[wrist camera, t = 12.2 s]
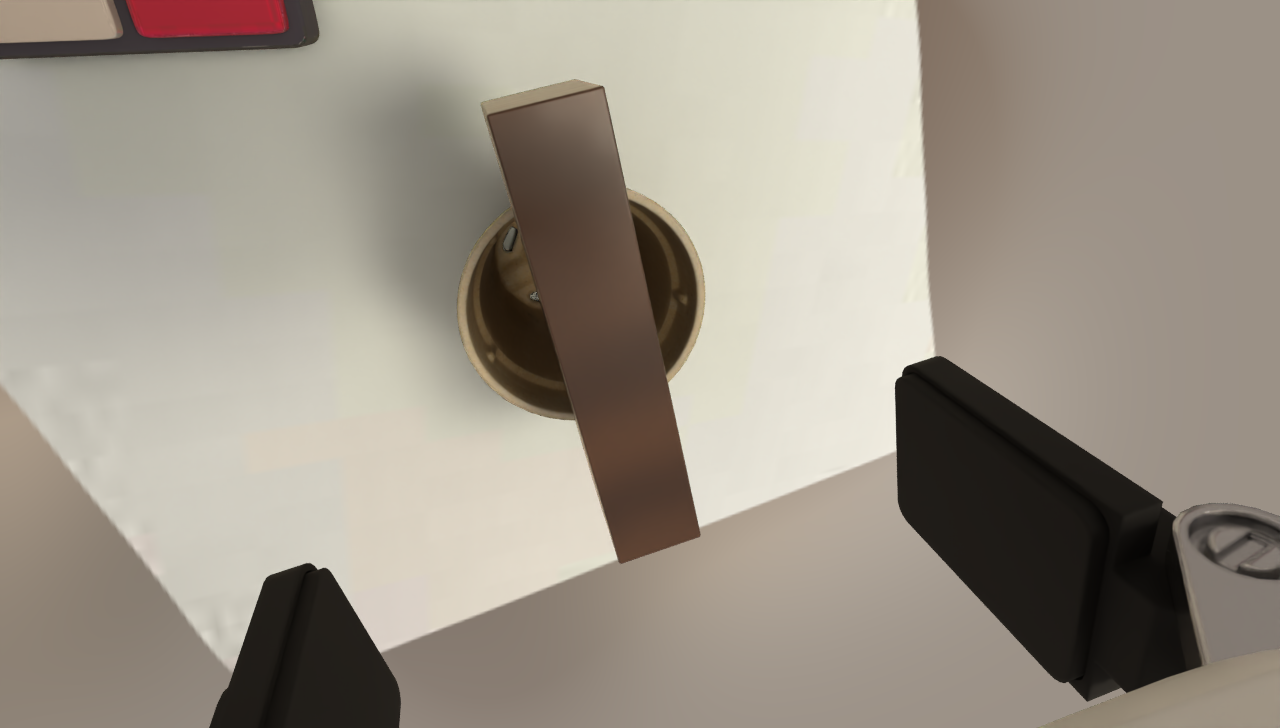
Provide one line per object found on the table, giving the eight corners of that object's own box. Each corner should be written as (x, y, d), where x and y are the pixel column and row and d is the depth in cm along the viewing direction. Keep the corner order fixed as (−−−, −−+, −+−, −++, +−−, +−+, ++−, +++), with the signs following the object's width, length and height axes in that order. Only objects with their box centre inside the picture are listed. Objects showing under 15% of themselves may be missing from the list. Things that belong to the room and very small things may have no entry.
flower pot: (439, 160, 30) (433, 198, 22) (644, 141, 32) (704, 170, 24) (474, 352, 34) (479, 439, 26) (654, 325, 36) (707, 400, 28)
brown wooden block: (480, 102, 21) (485, 114, 17) (576, 78, 22) (604, 85, 18) (596, 492, 29) (619, 565, 25) (667, 469, 29) (701, 537, 25)
